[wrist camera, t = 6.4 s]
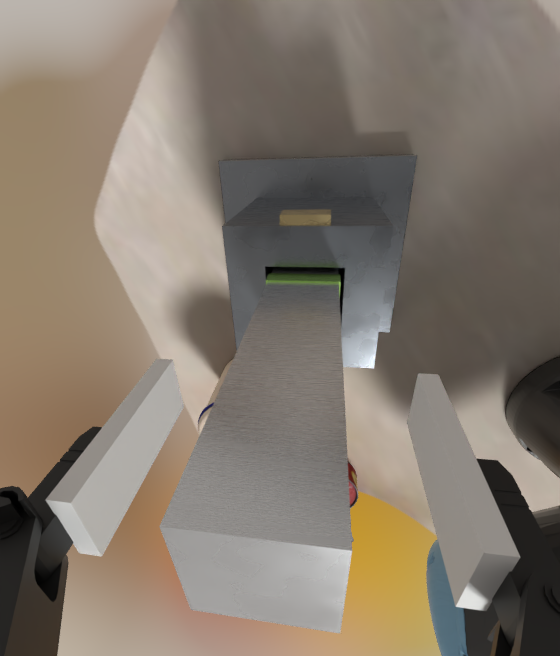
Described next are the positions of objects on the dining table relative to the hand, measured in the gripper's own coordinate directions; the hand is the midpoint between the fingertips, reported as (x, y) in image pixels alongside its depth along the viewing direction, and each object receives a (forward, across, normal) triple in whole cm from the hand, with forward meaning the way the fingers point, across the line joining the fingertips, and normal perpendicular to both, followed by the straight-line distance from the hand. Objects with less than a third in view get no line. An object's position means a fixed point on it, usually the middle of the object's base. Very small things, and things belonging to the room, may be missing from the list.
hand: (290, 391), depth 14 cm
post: (+13, 0, 0) cm, 13 cm away
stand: (+21, 0, 0) cm, 21 cm away
